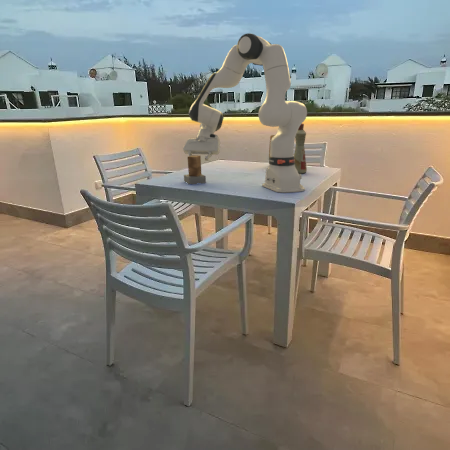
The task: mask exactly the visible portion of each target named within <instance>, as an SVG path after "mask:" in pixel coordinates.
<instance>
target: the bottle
mask: <svg viewBox="0 0 450 450" xmlns="http://www.w3.org/2000/svg"><path fill="white" fill-rule="evenodd" d="M304 126H305V124H304V123H302V124H301V125H300V127H299V128H298V131H297V133H296V136H295V146H294V152H293V156H294V159H295V164H294V165H295V168H296V170H297V171H298V174H299V175H300V174H301V175H302V174H306V173H307V160H306V149H305V142H306V136H307V131H305V130H304Z"/></svg>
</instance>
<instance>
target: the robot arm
mask: <svg viewBox="0 0 450 450" xmlns="http://www.w3.org/2000/svg"><path fill="white" fill-rule="evenodd" d="M250 64H252V65H255V66H261V67H262V66H263V72H264V73H263V74H264V79H265V88H266V89H265V90H266V94H265V99H264V101H263V103H262V105H261V106H260V107H259V109H258V120H259V122H260V123H261V125H262V126H265V127H272V128H274V127H278V129H277V131H276V134H274V135H275V136H273V137H272V139H271V142H270V141H269V146H270V156H269V155H268V164H269V165H268V166H267V167H266V169H265V178H264V183H262V184H261V187H263V188H266V189H269V190H271V191H273V192H276V193H298V192H303V191H305V190H306V188H305V187H304V186H303V185H302V184H301V180H302V179H303V177H302V174H298V171H297V170H296V168H295V165H294V164H295V159H294V153H295V142H296V140H295V136H296V133H297V131H298V128H299V127H300V125H301V124H304V123H303V122H305V121H306V119H307V116H308V108H307V107H306V105H305V104H304V103H302V102H299V101H295V100H286V92H288V91H289V90H290V88H291V87H292V85H291V84H292V81H291V76H290V69H289V63H288V59H287V55H286V53H285V49H284V47H283V46H282V45H280V44H278V43H277V44H276V43H275V44H274V43H273V44H272V43H271V42H269V41H267V40H266V39H264V38H263V37H262V36H260V35H259V36H258V35H256V34H254V33H250V32H249V33H244V34H242V35H241V37H239V38H238V41H237V44H234V45H233V46H232V47H231V49H230V50H229V51H228V52H227V55H226V57H225V59H224V60H223V63H222V66H221V68H220V69H218V71H216V72H213V73H212V74H210V76H209V77H208V78H207V81H205V82H206V83H204V85H203V87H202V89H201V90H200V93H199V94H198V96H197V97H196V98H195V101H193V103H192V104H191V106H190V107H189V110H188V117H189V118H190V120H191V121H192V122H196V123H199V124H200V125H199V130H198V131H197V135H196V138H188V139H187V140H186V141H185V144H184V145H183V147H182V151H183V152H184V154H186V155H188V156H191V155H205V157H204V160H205V161H209V160H210V158H211V157H213V156H214V155H215V156H217V155H219V154H220V152H221V141H220V138H219V136H218V135H217V134H215V132H218V131H219V130H220V129H221V127H222V126H223V121H224V119H225V117H224V114H223V112H222V111H220V110H218V109H216V108H214V107H211V106H209V105H207V104H205V103H204V102H205V101H206V99H207V98H208V96H209V94H210V93H211V92H212V90H214V89H218V88H220V89H230V88H231V89H232V88H234V87H236V86H237V85H239V84H240V81H241V79H242V78H243V75H244V74H245V71H246V69H247V67H248V66H249V65H250Z"/></svg>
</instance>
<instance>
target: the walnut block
mask: <svg viewBox="0 0 450 450" xmlns="http://www.w3.org/2000/svg"><path fill="white" fill-rule="evenodd" d="M187 169H188V174H189V176H195V177H198V176H200V175H203V174H202V158H201V154H192V155H191V156H189V155H188V156H187Z"/></svg>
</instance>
